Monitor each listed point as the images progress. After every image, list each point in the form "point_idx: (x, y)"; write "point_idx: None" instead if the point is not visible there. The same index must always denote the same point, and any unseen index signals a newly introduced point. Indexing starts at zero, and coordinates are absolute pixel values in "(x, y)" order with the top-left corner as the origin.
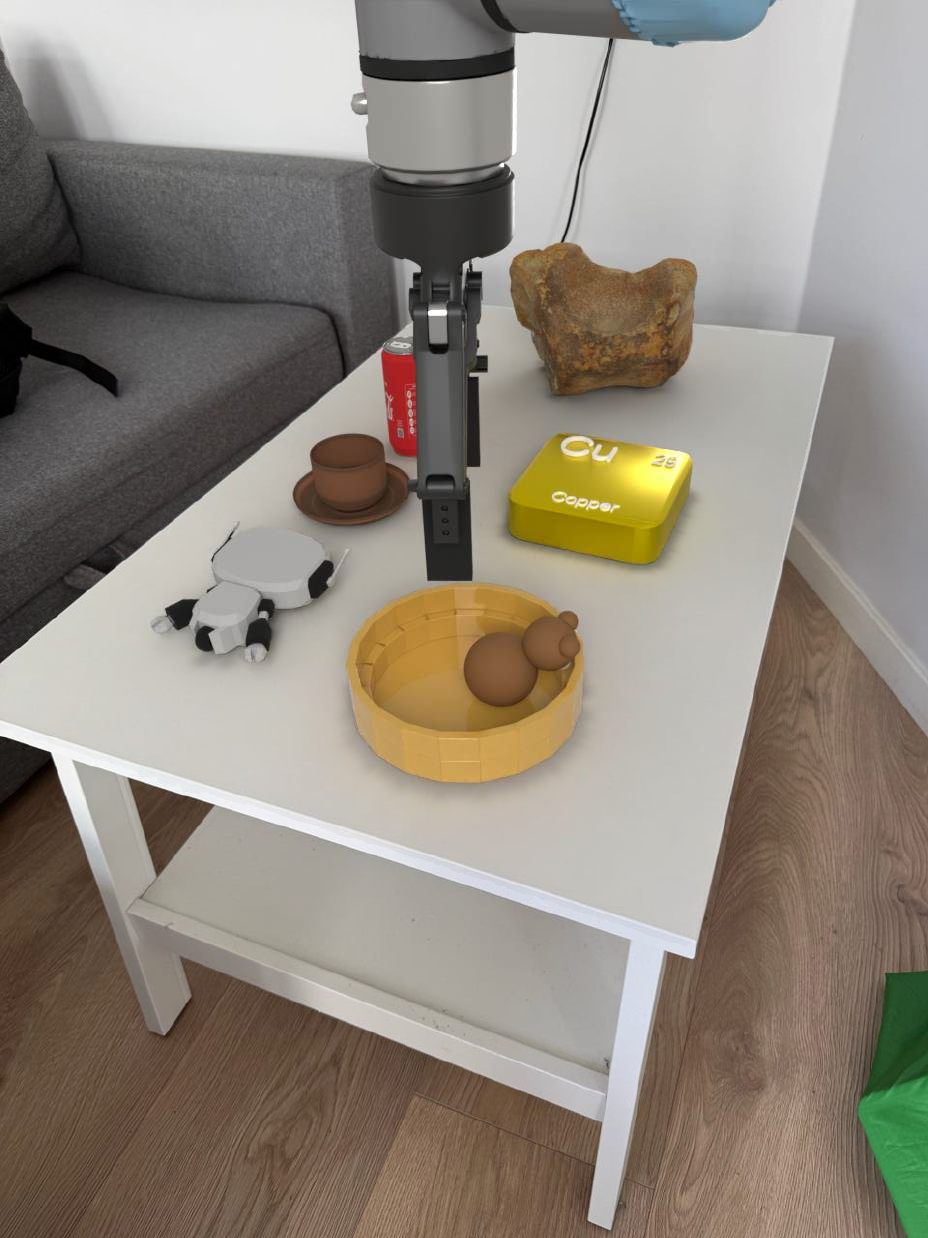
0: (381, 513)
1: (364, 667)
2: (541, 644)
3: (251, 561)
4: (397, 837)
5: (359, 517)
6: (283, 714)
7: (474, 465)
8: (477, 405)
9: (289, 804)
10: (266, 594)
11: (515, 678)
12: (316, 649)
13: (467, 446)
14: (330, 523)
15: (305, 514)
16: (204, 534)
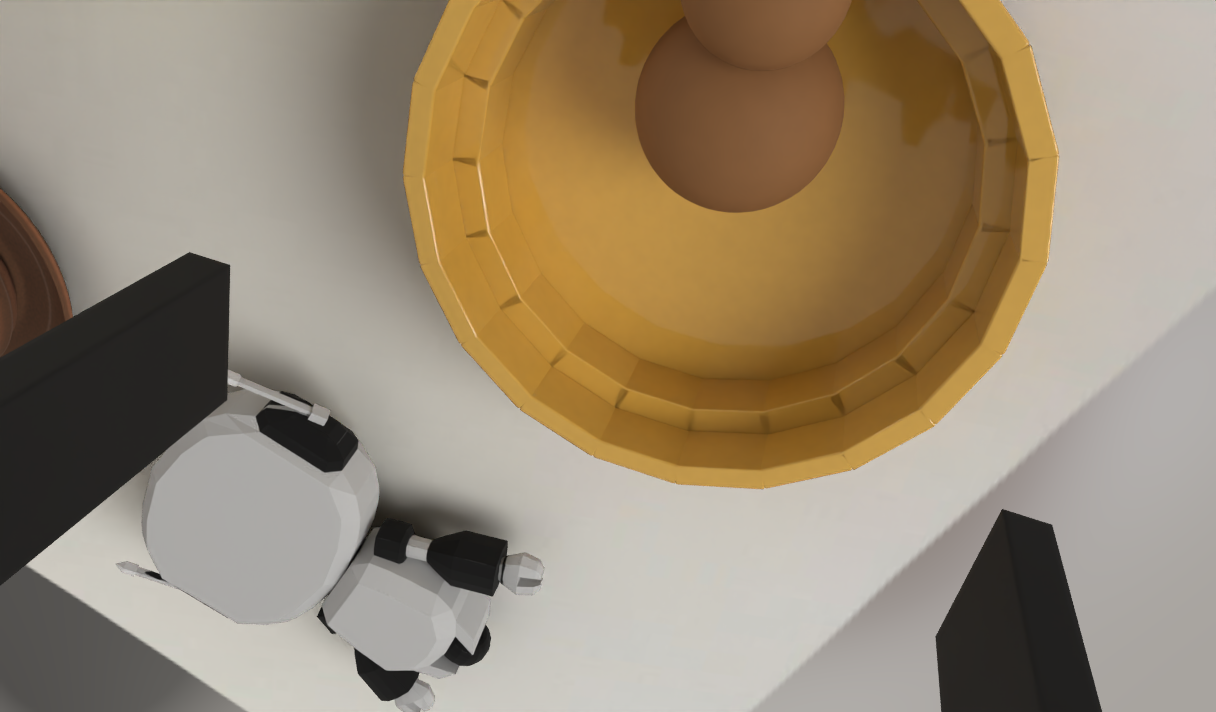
0: (33, 239)
1: (631, 407)
2: (818, 34)
3: (262, 567)
4: (1085, 397)
5: (31, 273)
6: (668, 523)
7: (226, 290)
8: (8, 408)
9: (914, 554)
10: (358, 543)
11: (831, 100)
12: (487, 436)
13: (168, 352)
14: None
15: None
16: (106, 565)
